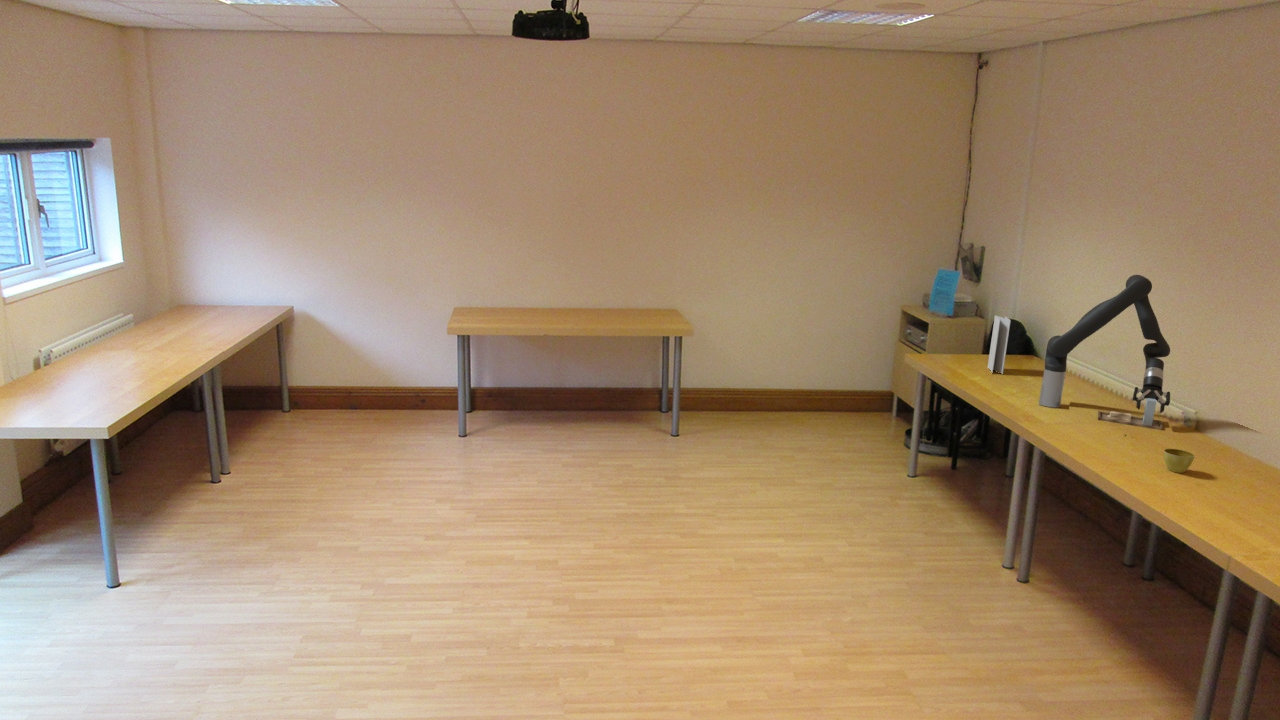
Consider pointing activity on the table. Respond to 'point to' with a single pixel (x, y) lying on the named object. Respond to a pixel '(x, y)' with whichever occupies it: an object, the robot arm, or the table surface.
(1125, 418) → the offcut stack
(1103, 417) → the brown serving tray
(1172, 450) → the green bowl
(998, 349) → the brochure
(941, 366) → the table surface
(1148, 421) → the blue-grey rectangular block
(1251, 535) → the table surface
